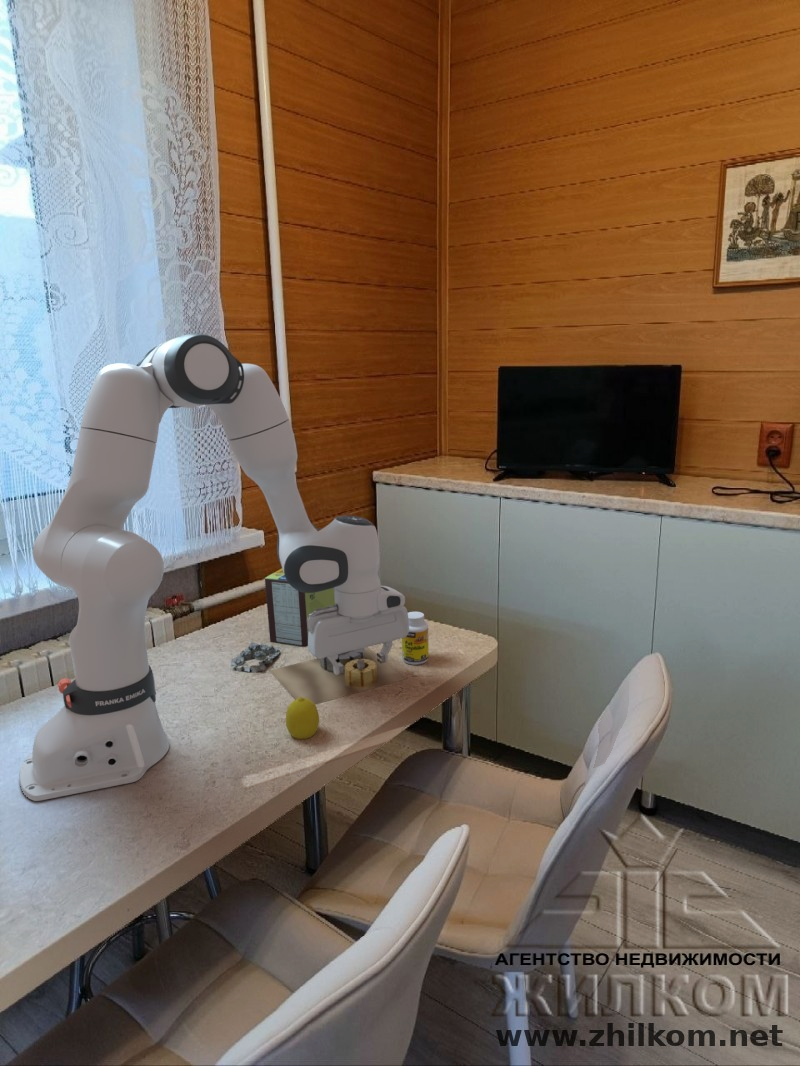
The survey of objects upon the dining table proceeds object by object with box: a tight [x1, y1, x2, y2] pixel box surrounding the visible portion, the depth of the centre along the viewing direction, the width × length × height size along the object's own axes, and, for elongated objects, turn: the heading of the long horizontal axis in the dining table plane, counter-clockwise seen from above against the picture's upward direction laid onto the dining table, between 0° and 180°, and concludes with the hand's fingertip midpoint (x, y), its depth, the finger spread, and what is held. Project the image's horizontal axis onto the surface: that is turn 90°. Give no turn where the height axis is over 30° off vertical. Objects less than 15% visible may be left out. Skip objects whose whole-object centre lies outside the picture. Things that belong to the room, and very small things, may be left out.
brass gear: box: [344, 659, 377, 687], centre depth 136 cm, size 6×6×3 cm
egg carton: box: [230, 641, 281, 673], centre depth 146 cm, size 11×8×4 cm
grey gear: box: [320, 648, 365, 672], centre depth 144 cm, size 9×9×3 cm
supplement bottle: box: [401, 611, 430, 666], centre depth 147 cm, size 6×6×10 cm
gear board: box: [269, 647, 408, 705], centre depth 139 cm, size 22×18×6 cm
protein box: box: [264, 567, 335, 648], centre depth 162 cm, size 10×15×16 cm
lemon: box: [285, 697, 320, 740], centre depth 118 cm, size 6×6×8 cm
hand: (360, 667), depth 136 cm, fingers open, 8 cm apart
